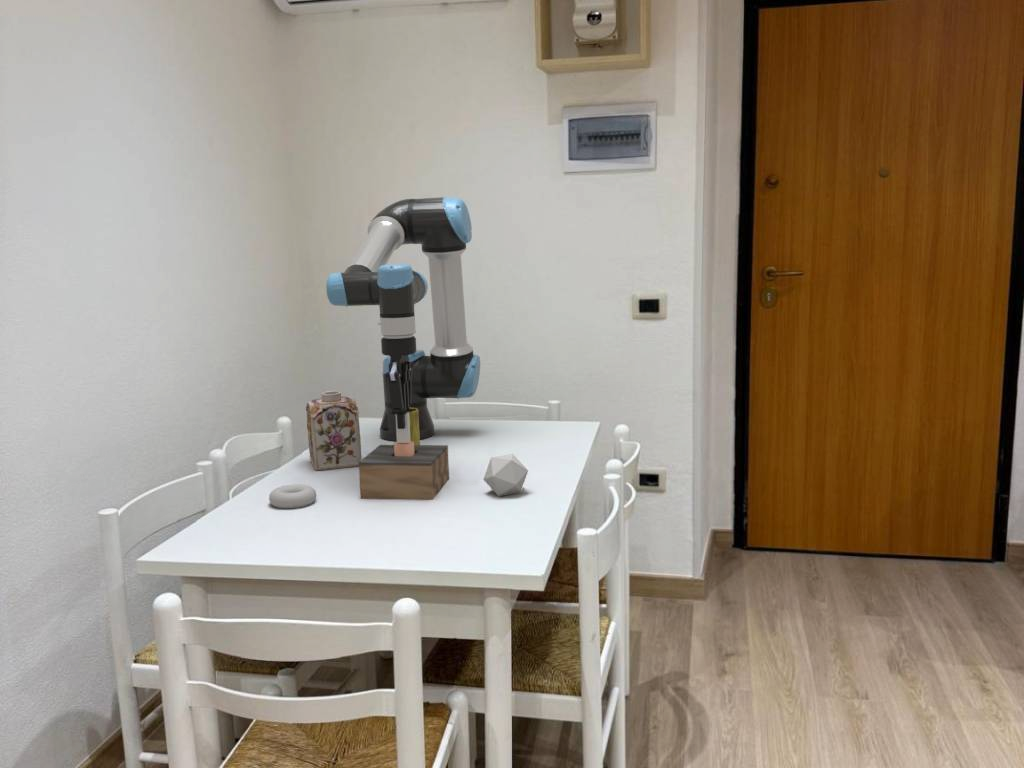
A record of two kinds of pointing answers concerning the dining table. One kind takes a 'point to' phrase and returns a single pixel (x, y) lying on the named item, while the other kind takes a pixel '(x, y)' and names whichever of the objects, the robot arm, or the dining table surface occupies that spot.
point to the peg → (404, 449)
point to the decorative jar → (333, 431)
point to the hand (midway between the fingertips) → (403, 441)
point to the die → (505, 475)
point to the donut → (292, 496)
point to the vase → (414, 426)
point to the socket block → (404, 473)
